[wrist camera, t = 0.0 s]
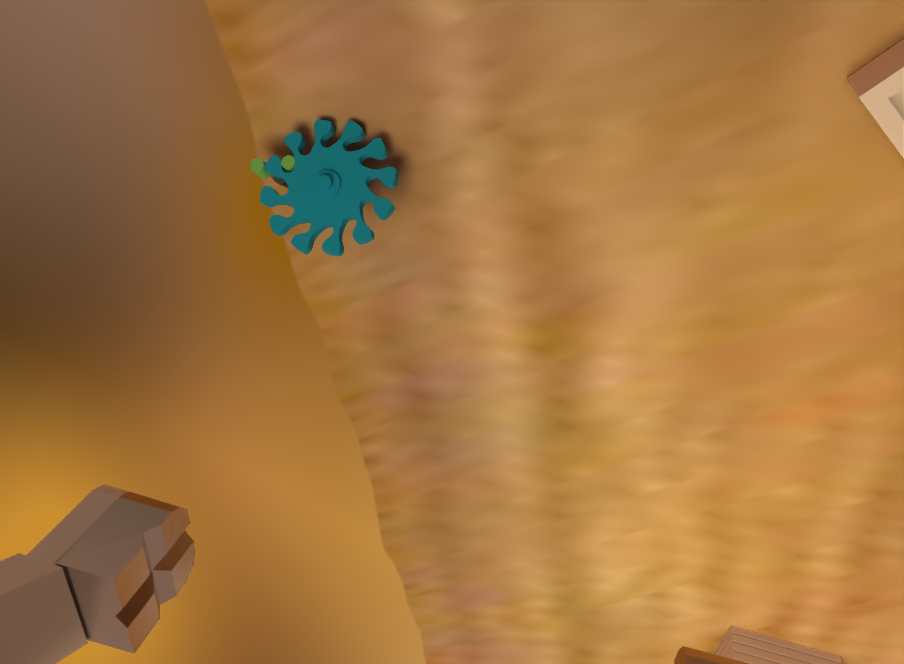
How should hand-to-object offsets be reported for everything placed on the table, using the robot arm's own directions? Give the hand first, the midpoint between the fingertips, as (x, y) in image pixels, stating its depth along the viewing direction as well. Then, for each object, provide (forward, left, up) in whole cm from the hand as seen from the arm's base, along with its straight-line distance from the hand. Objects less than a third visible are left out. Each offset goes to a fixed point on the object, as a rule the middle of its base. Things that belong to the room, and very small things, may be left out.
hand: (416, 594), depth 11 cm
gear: (+12, -18, -39) cm, 45 cm away
